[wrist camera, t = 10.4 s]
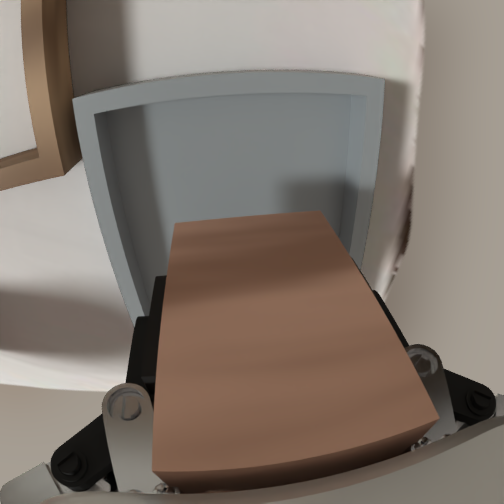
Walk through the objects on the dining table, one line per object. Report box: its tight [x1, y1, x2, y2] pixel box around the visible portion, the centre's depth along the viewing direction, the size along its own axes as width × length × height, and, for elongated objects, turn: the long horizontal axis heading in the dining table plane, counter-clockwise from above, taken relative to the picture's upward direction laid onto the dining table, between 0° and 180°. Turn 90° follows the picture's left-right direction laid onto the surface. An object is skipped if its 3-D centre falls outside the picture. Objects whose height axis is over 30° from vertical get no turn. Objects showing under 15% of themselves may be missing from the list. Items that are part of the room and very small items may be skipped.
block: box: [152, 210, 440, 494], centre depth 9 cm, size 5×5×8 cm
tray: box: [72, 70, 385, 327], centre depth 15 cm, size 14×12×2 cm
